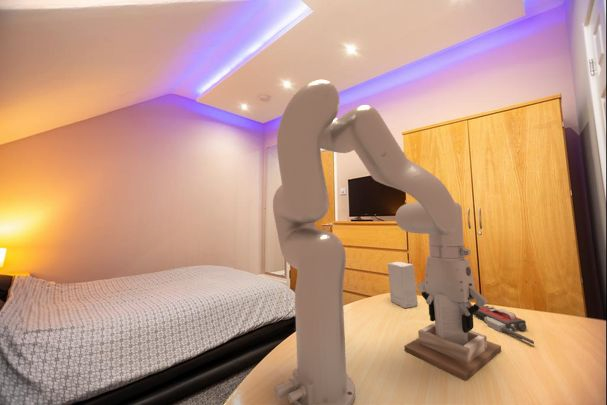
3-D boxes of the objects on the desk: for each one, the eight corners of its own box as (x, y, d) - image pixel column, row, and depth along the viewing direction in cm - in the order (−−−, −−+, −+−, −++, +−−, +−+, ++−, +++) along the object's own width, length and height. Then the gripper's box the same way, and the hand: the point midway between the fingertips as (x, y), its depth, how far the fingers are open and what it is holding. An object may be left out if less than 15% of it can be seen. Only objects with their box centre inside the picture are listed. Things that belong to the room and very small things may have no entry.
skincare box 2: (461, 339, 63) (458, 290, 64) (468, 348, 59) (465, 296, 60) (434, 337, 65) (432, 289, 65) (440, 346, 60) (437, 295, 61)
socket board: (466, 380, 51) (464, 359, 51) (404, 350, 63) (403, 333, 63) (501, 350, 61) (500, 333, 61) (442, 329, 73) (441, 314, 73)
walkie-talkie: (464, 316, 82) (530, 349, 62) (464, 302, 82) (528, 330, 62) (488, 313, 83) (559, 344, 64) (487, 299, 83) (557, 326, 64)
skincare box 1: (418, 306, 90) (415, 264, 91) (404, 309, 89) (401, 266, 89) (402, 299, 98) (400, 260, 99) (389, 301, 97) (387, 262, 97)
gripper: (493, 254, 58) (498, 334, 57) (421, 247, 72) (424, 310, 71) (479, 258, 53) (484, 344, 53) (405, 250, 68) (409, 317, 67)
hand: (450, 324), depth 62 cm, fingers closed on skincare box 2, 7 cm apart
